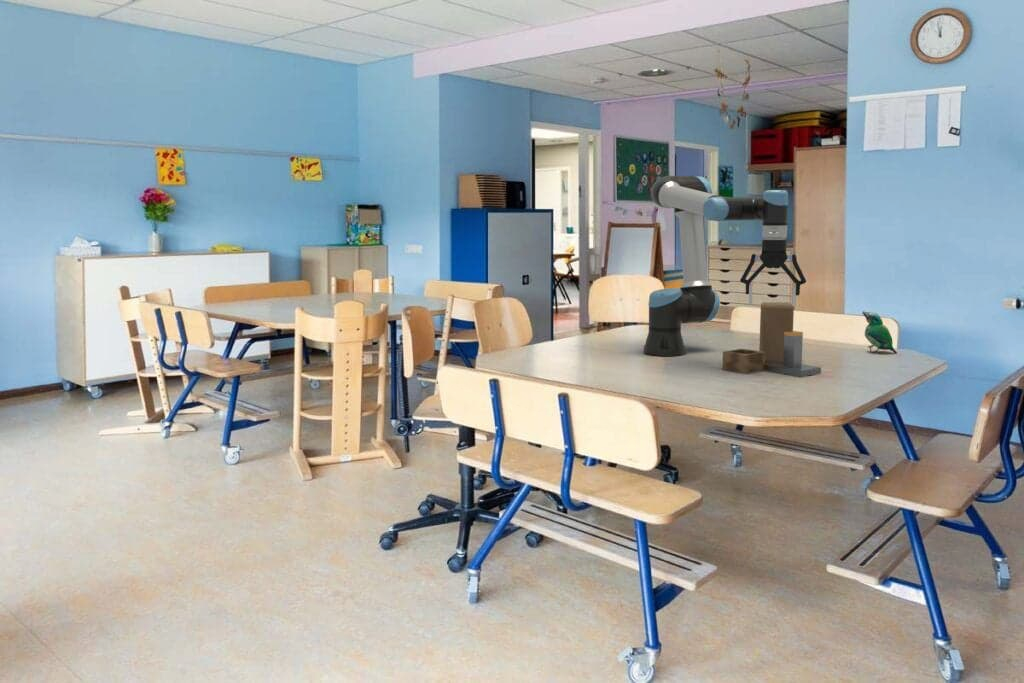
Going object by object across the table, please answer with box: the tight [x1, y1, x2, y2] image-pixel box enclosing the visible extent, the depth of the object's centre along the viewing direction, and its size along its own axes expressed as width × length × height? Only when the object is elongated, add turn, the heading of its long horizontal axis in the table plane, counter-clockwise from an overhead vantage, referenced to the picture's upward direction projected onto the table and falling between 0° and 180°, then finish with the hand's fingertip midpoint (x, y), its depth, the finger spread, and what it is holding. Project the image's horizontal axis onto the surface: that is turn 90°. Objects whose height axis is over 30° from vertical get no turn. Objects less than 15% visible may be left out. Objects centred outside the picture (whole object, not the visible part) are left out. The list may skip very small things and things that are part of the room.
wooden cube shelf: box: [722, 348, 766, 375], centre depth 276 cm, size 10×10×6 cm
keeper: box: [763, 330, 822, 378], centre depth 271 cm, size 14×10×13 cm
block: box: [758, 301, 795, 364], centre depth 290 cm, size 10×10×20 cm
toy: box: [861, 310, 898, 354], centre depth 305 cm, size 12×8×15 cm, turn 73°
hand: (771, 305), depth 274 cm, fingers open, 13 cm apart
